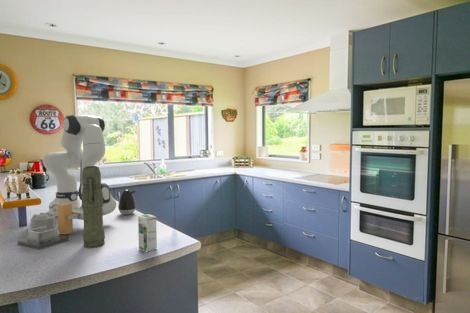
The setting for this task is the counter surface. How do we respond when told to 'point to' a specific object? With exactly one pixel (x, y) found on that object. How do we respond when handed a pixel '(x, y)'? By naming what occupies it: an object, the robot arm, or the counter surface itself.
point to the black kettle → (127, 202)
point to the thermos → (92, 207)
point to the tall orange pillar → (64, 218)
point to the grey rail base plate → (42, 238)
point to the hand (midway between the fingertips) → (63, 217)
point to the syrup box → (147, 232)
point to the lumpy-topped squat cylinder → (43, 221)
